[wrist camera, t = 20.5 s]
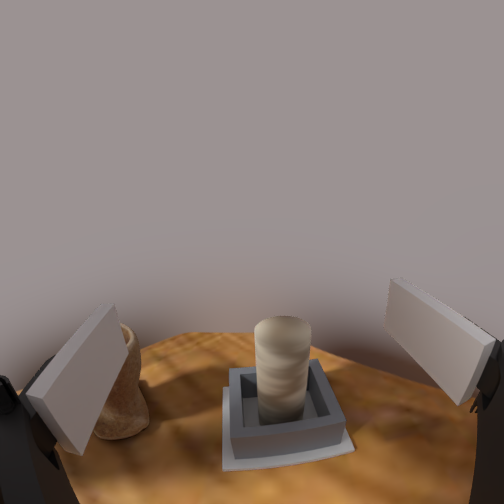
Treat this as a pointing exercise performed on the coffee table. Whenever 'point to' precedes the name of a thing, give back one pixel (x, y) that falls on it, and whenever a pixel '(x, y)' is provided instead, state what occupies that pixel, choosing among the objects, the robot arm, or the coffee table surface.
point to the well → (280, 425)
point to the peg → (282, 368)
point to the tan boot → (124, 397)
